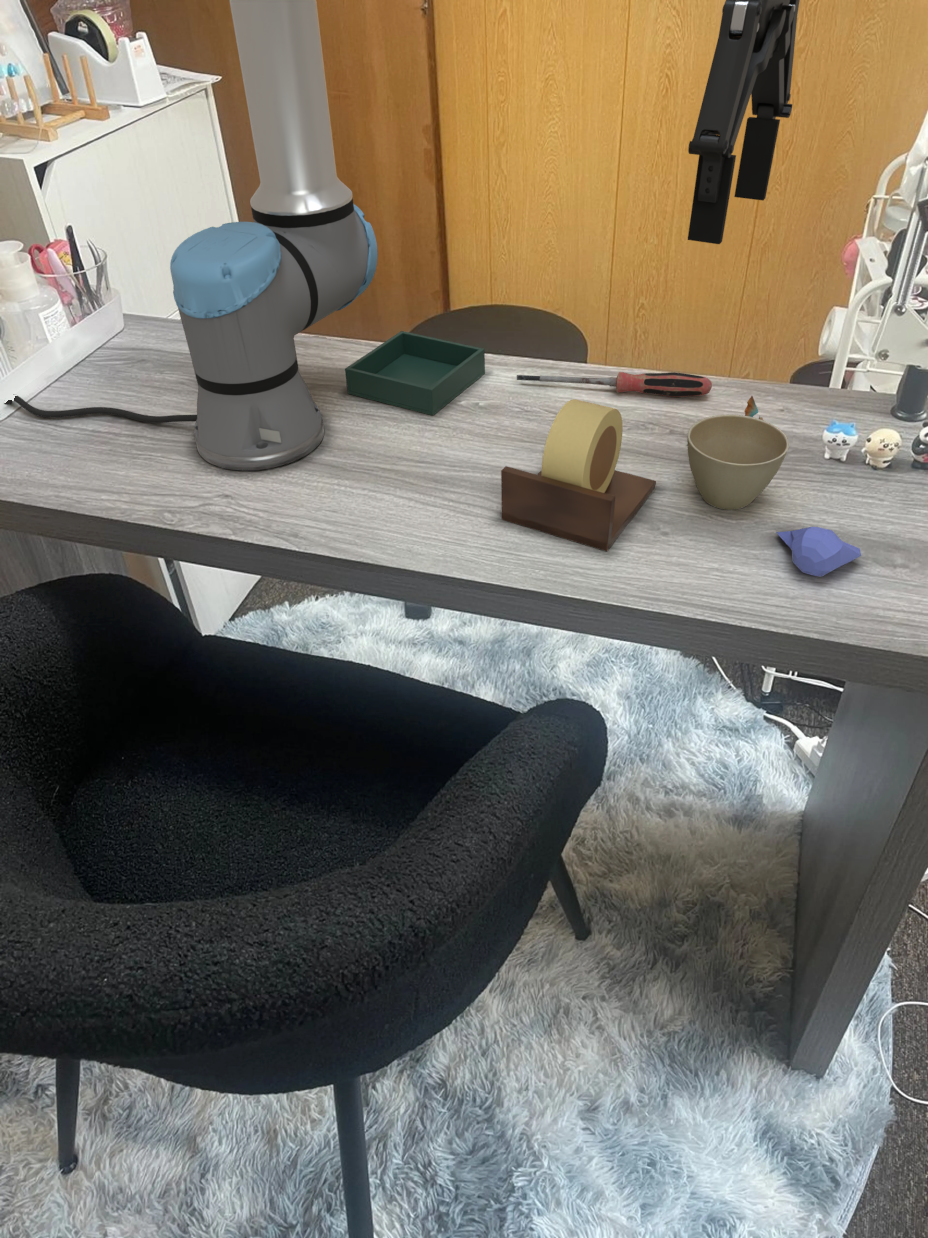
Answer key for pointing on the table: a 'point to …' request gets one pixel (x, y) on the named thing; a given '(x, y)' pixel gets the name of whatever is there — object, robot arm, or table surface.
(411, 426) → the table surface
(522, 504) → the phone holder
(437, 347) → the tray
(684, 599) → the table surface
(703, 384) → the screwdriver
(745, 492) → the flower pot
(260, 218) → the robot arm
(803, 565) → the bird figurine
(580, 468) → the tape roll
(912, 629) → the table surface
